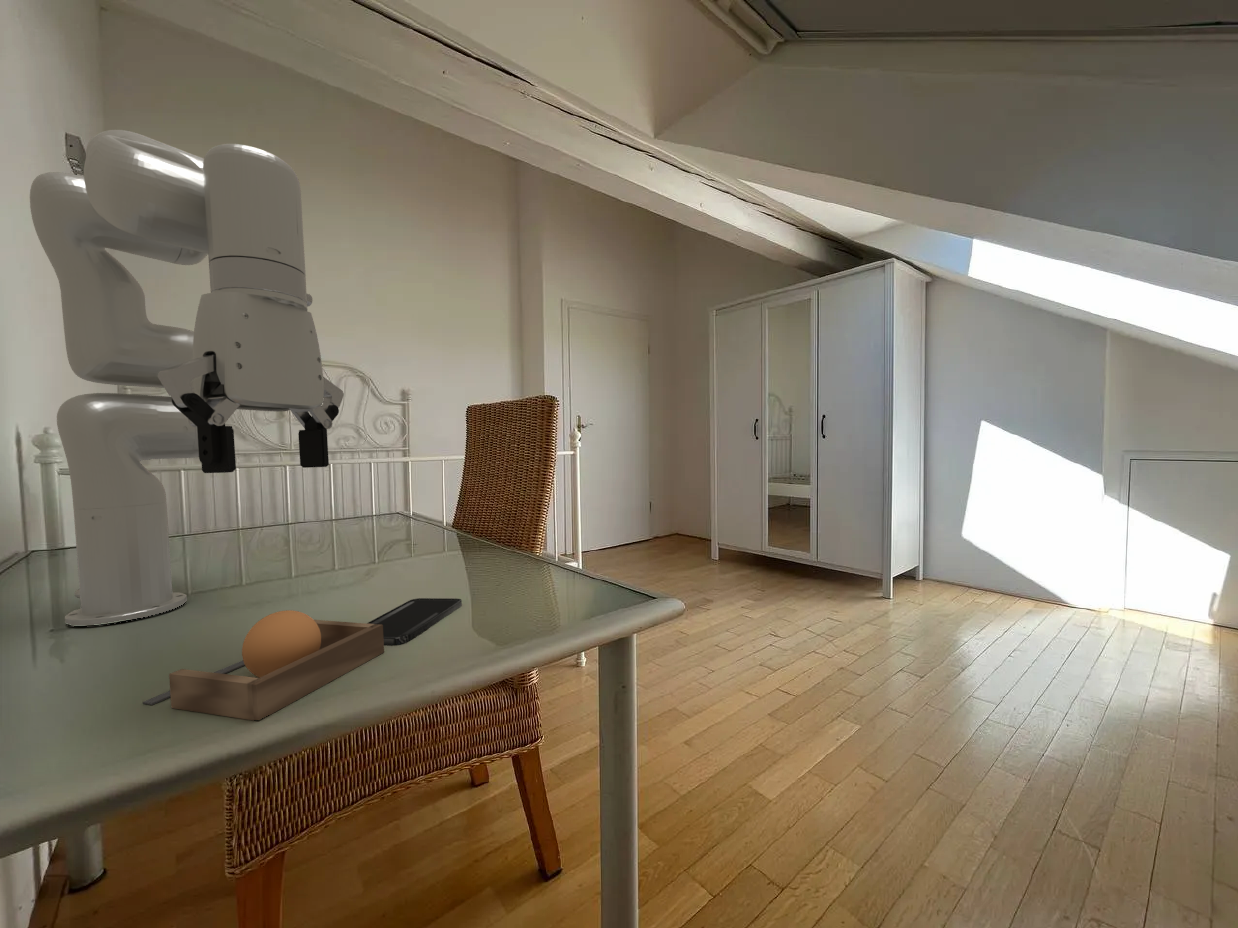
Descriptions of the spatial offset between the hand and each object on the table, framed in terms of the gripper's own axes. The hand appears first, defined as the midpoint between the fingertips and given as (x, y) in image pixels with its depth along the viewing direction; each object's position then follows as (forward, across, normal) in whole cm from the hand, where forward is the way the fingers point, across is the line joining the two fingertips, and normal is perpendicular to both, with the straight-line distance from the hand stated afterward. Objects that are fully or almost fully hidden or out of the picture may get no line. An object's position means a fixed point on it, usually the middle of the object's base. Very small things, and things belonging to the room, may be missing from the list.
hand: (271, 469), depth 49 cm
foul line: (+20, 0, -7) cm, 22 cm away
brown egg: (+17, 0, 0) cm, 17 cm away
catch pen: (+20, 0, +1) cm, 20 cm away
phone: (+21, -16, +2) cm, 26 cm away
